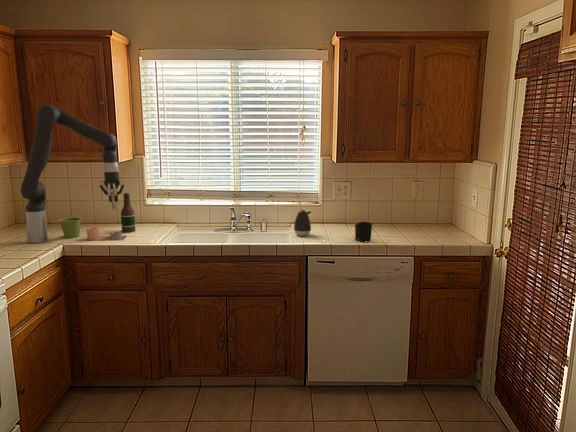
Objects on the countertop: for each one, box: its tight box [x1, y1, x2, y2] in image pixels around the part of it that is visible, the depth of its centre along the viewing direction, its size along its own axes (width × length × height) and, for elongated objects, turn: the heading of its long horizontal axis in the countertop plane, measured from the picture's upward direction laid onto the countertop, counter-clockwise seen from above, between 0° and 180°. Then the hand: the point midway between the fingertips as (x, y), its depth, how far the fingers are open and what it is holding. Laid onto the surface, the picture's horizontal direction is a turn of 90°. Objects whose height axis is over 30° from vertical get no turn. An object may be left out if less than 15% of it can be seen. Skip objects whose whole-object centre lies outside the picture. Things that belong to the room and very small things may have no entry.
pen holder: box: [354, 221, 373, 243], centre depth 260 cm, size 9×9×10 cm
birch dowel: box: [111, 190, 117, 211], centre depth 253 cm, size 2×2×10 cm
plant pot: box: [58, 216, 83, 239], centre depth 259 cm, size 12×12×11 cm
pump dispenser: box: [293, 209, 312, 237], centre depth 271 cm, size 10×10×15 cm
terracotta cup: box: [86, 226, 101, 240], centre depth 255 cm, size 6×6×6 cm
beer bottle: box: [120, 192, 136, 234], centre depth 272 cm, size 8×8×24 cm
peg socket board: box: [83, 231, 128, 242], centre depth 256 cm, size 21×11×4 cm, turn 98°
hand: (113, 202), depth 253 cm, fingers closed on birch dowel, 2 cm apart
